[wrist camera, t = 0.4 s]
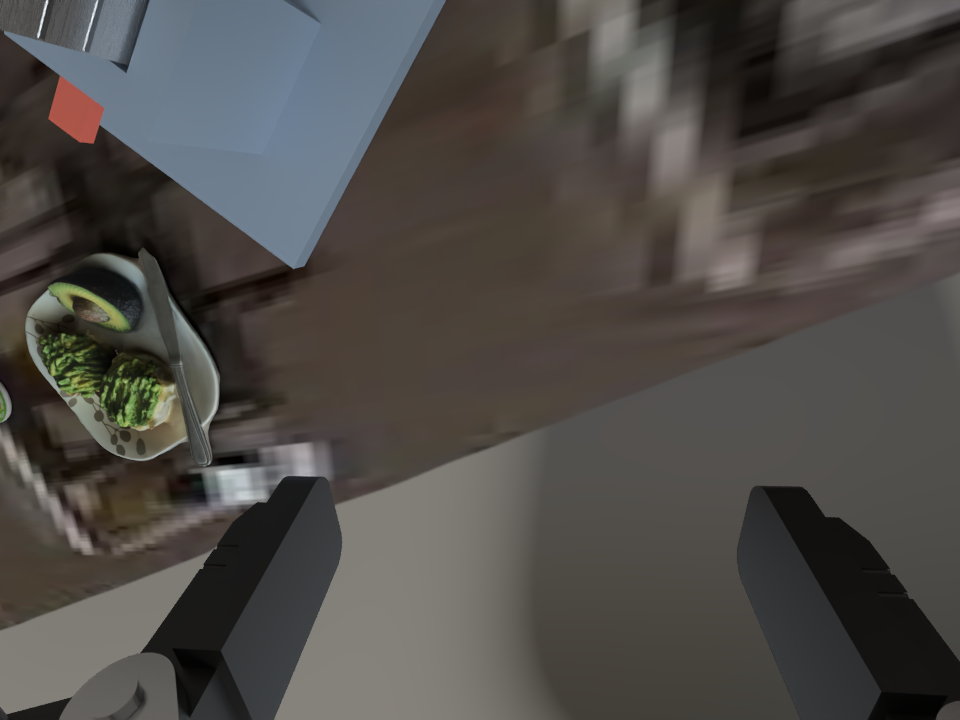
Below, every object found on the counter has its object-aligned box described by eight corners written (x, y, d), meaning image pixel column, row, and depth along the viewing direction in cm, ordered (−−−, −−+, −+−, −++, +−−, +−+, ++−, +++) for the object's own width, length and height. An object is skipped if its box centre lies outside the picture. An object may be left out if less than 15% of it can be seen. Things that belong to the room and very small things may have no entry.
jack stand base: (179, -205, 31) (-29, -405, 20) (447, -4, 31) (374, -102, 21) (87, 104, 38) (-101, 71, 28) (304, 266, 38) (197, 292, 28)
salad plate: (284, 419, 43) (250, 444, 39) (153, 493, 49) (110, 522, 45) (145, 215, 40) (91, 218, 36) (23, 320, 46) (-36, 333, 42)
